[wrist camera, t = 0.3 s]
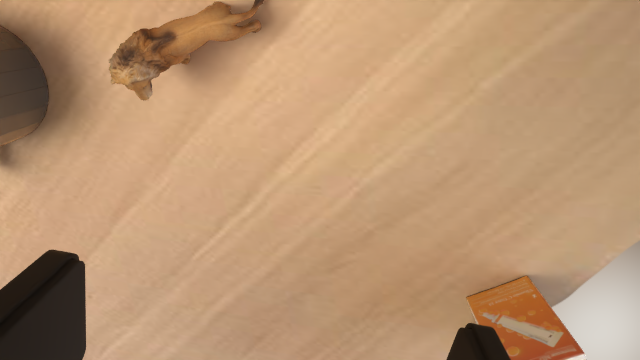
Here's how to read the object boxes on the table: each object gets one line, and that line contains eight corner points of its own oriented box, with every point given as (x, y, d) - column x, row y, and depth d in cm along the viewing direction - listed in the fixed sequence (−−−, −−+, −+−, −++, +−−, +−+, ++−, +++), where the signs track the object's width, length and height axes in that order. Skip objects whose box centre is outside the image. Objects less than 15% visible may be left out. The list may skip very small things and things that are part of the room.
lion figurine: (163, 94, 45) (125, 112, 36) (131, 49, 43) (83, 57, 35) (279, 18, 42) (266, 19, 33) (249, -33, 40) (228, -46, 32)
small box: (526, 273, 52) (587, 352, 40) (540, 311, 54) (601, 398, 42) (463, 296, 53) (503, 379, 41) (479, 332, 55) (521, 422, 43)
